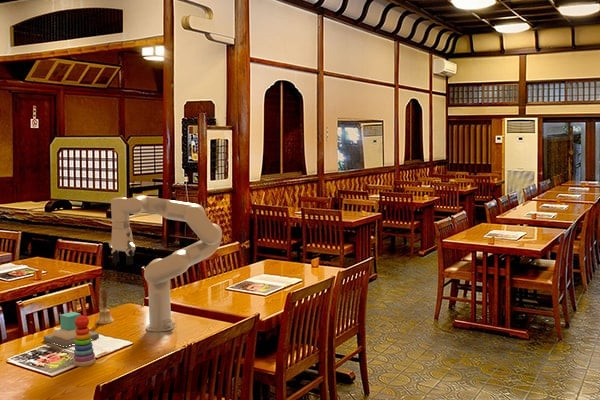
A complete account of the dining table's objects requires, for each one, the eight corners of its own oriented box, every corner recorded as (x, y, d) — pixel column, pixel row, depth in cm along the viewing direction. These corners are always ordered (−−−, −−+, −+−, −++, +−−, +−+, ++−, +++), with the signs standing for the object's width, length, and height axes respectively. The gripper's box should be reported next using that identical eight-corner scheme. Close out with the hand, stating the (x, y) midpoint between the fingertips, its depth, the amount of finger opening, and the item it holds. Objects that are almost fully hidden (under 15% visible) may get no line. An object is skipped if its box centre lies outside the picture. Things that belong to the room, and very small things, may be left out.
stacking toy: (76, 360, 236) (74, 312, 234) (97, 359, 237) (96, 312, 235) (70, 367, 228) (68, 318, 227) (92, 366, 229) (90, 317, 227)
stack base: (98, 338, 263) (98, 326, 263) (65, 348, 251) (64, 336, 250) (77, 331, 273) (76, 320, 273) (43, 340, 260) (43, 329, 260)
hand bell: (117, 319, 292) (115, 286, 291) (109, 324, 284) (108, 290, 283) (100, 318, 293) (99, 286, 292) (92, 323, 285) (91, 290, 284)
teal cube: (81, 327, 262) (80, 313, 261) (68, 331, 257) (68, 317, 257) (73, 325, 266) (72, 311, 265) (60, 328, 261) (60, 314, 260)
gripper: (140, 225, 270) (142, 263, 271) (115, 223, 280) (117, 260, 282) (126, 227, 264) (128, 266, 265) (101, 225, 274) (103, 262, 275)
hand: (122, 263), depth 273 cm, fingers open, 9 cm apart
